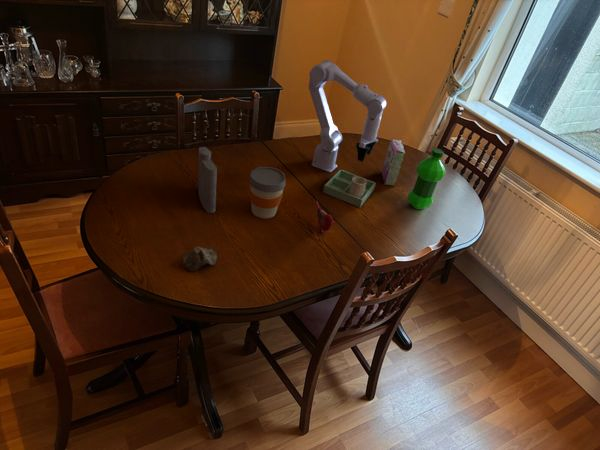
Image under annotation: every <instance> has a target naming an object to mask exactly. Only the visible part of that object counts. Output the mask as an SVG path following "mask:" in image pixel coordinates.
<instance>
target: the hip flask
mask: <svg viewBox="0 0 600 450" xmlns="http://www.w3.org/2000/svg"><path fill="white" fill-rule="evenodd" d="M211 156H212V151H211V150H210V149H209V148H208V147H206V146H201V147H199V148H198V184H197V185H198V189H197V191H198V198H199V201H200V204H201V205H202V207H203V209H204V210H205V211H206V213H208V214H214V213H215V212H216V203H217V182H218V180H217V178H218V167H217V165H215V164H214V162H213V160H212V158H211Z"/></svg>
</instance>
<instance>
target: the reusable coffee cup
mask: <svg viewBox="0 0 600 450" xmlns="http://www.w3.org/2000/svg"><path fill="white" fill-rule="evenodd" d="M248 183H249V187H248V188H249V189H248V190H249V191H248V192H249V201H250V205H251V213H252V214H253V215H254V216H255V217H257V218H260V219H270V218H271V219H272V218H273V217H275V216H276V215H277V211H278V208H279V206H280V204H281V202H282V199H283V195H284V188H285V187H286V175H285V173H284V172H283V171H282V170H280V169H278V168H276V167H271V166H259V167H255V168H254V169H252V170H251V172H250V175H249V181H248Z"/></svg>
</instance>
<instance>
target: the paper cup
mask: <svg viewBox="0 0 600 450" xmlns="http://www.w3.org/2000/svg"><path fill="white" fill-rule="evenodd" d="M365 179H366V178H364V177H361V176H359V177H353V178H352V181H351V185H350V189H349V192H348V194H350V195H353V196H355V197H358V198H360V199H362V197H363V193H364V190H365V186H366V183H367V182H366V180H365Z"/></svg>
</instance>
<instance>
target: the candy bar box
mask: <svg viewBox="0 0 600 450" xmlns="http://www.w3.org/2000/svg"><path fill="white" fill-rule="evenodd" d="M404 147H405V146H404V144H403V141H402V140H400V139H399V140H398V139H393V138H391V139H390V140H389V144H388V148H387V152H386V156H385V158H384V162H383V165H382V169H381V175H382V179H383V183H384V186H391V187H392V186H393V187H395V186H396V183H397V180H398V178H399V174H400V170H401V169H402V164H403V161H404V158H405V155H406V151H405V148H404Z"/></svg>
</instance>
